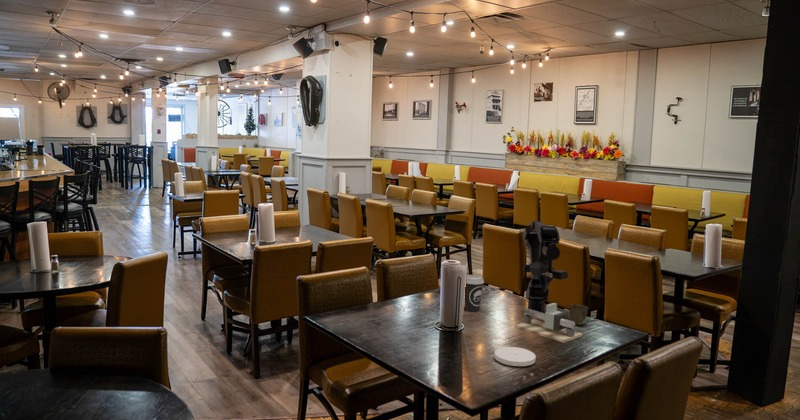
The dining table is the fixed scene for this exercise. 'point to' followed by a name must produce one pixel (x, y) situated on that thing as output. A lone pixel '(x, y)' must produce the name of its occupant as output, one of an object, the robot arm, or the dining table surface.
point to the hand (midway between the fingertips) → (544, 291)
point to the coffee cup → (473, 293)
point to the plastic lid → (515, 356)
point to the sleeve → (550, 315)
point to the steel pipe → (541, 316)
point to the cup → (578, 313)
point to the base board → (547, 331)
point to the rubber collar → (557, 321)
